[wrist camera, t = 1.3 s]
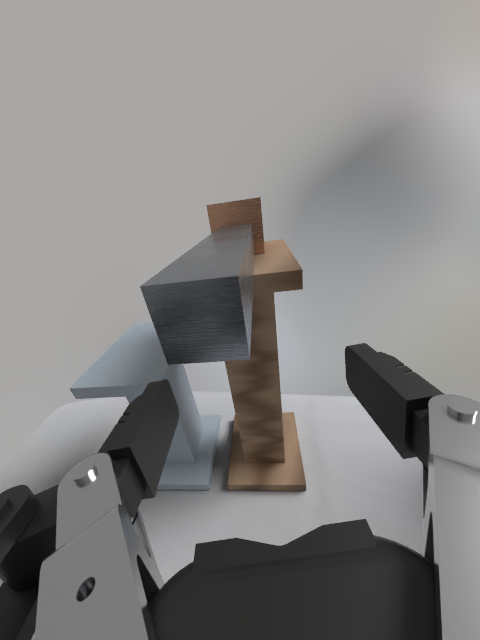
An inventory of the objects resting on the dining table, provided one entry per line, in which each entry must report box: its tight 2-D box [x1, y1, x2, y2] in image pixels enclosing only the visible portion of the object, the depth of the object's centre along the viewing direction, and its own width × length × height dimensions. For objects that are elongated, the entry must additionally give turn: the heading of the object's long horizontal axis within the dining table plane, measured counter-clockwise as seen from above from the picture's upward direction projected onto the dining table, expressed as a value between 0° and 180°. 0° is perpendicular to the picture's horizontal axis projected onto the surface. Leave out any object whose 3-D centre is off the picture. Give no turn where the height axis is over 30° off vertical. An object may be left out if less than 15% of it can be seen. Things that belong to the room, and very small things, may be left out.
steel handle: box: [140, 197, 265, 365], centre depth 17 cm, size 5×24×5 cm, turn 176°
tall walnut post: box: [225, 240, 306, 491], centre depth 30 cm, size 11×14×32 cm
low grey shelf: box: [70, 322, 221, 490], centre depth 34 cm, size 11×14×22 cm
